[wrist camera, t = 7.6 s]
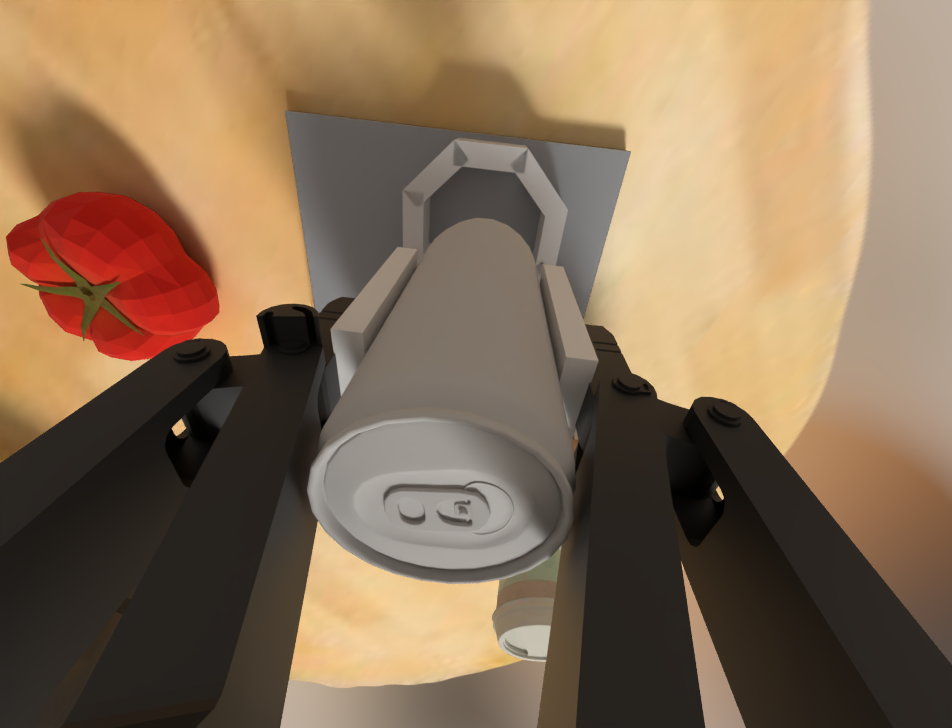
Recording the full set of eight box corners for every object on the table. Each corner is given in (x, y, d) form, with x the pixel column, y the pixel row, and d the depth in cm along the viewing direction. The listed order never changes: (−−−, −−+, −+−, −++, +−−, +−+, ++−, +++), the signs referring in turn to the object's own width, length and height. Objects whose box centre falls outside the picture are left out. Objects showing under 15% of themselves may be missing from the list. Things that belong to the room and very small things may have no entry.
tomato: (150, 164, 25) (49, 178, 19) (258, 309, 30) (204, 352, 25) (52, 219, 27) (-63, 245, 21) (168, 344, 32) (101, 390, 27)
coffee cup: (506, 490, 40) (507, 614, 30) (581, 506, 41) (607, 632, 31) (485, 535, 45) (481, 655, 35) (553, 548, 46) (568, 670, 36)
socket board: (325, 342, 31) (307, 365, 28) (293, 111, 22) (261, 110, 19) (564, 369, 31) (571, 395, 28) (626, 150, 22) (644, 155, 20)
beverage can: (532, 321, 18) (569, 593, 8) (431, 322, 18) (337, 582, 8) (538, 212, 15) (604, 409, 5) (418, 215, 15) (253, 405, 5)
